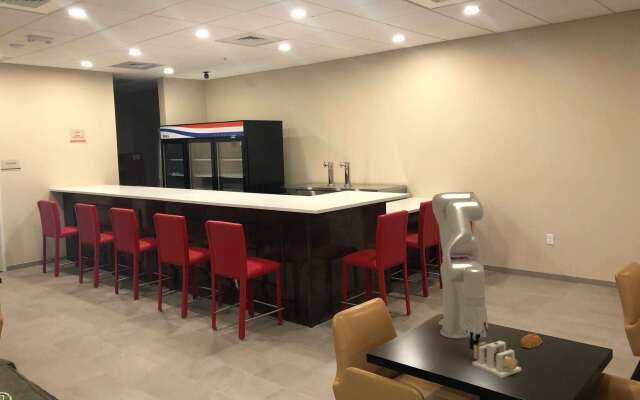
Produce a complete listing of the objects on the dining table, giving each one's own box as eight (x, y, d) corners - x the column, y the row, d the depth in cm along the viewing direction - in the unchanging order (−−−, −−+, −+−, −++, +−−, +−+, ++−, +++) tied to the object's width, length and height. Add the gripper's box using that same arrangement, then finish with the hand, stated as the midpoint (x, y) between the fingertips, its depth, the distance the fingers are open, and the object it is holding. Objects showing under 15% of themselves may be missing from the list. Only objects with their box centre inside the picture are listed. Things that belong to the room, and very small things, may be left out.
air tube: (473, 358, 187) (473, 344, 187) (483, 354, 190) (483, 341, 189) (508, 373, 174) (508, 358, 173) (519, 369, 176) (519, 355, 176)
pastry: (532, 351, 196) (532, 341, 195) (515, 347, 200) (515, 337, 200) (542, 344, 202) (542, 334, 202) (526, 340, 207) (526, 331, 207)
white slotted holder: (472, 365, 185) (472, 340, 184) (491, 358, 190) (491, 335, 189) (501, 377, 173) (501, 352, 173) (521, 370, 178) (521, 345, 178)
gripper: (451, 297, 193) (452, 344, 195) (482, 307, 180) (482, 358, 182) (466, 294, 196) (466, 340, 198) (497, 303, 183) (497, 353, 185)
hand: (474, 348), depth 190 cm, fingers closed
